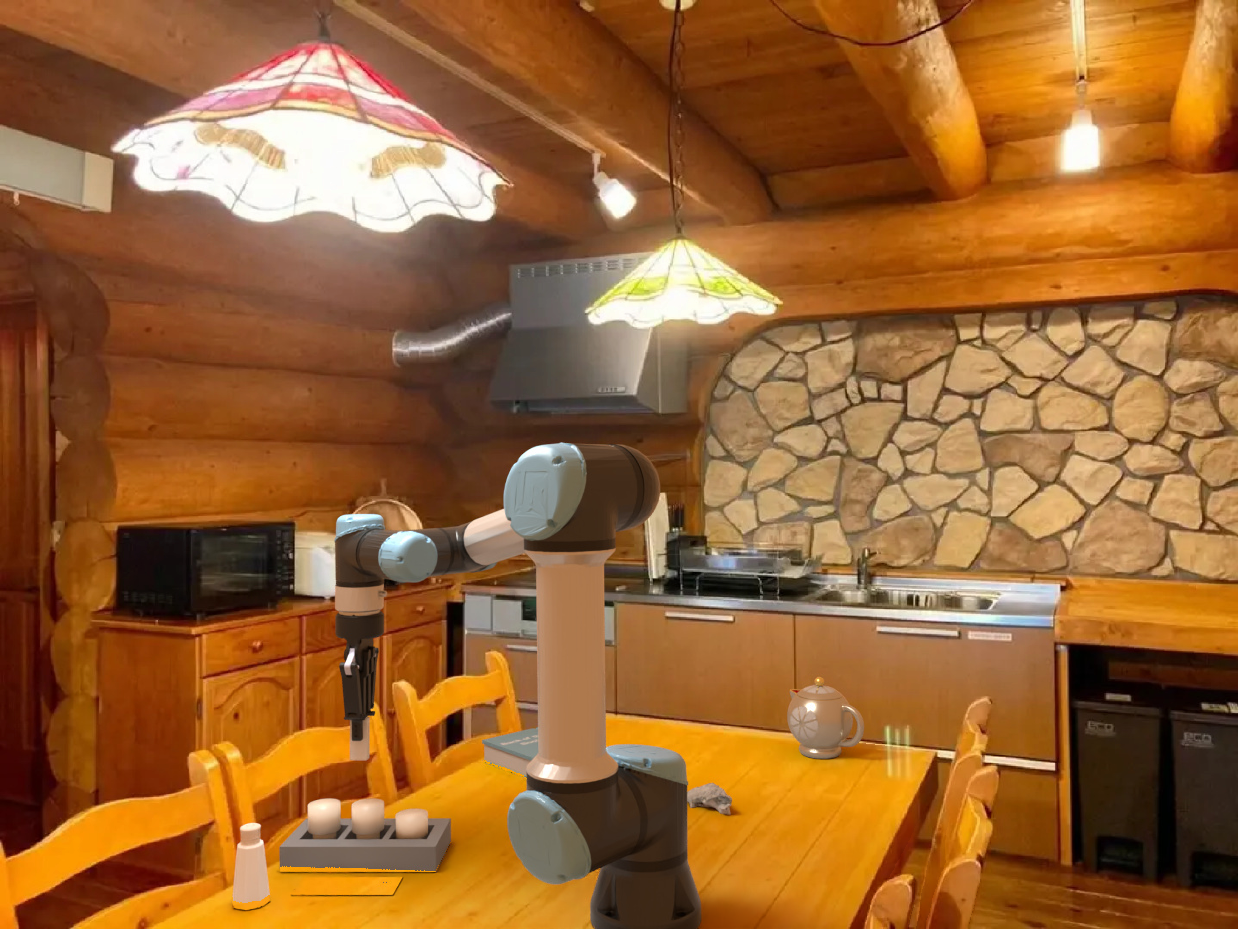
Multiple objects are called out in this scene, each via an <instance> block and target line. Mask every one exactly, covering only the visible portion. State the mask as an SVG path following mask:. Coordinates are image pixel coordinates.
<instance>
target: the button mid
mask: <svg viewBox="0 0 1238 929" xmlns="http://www.w3.org/2000/svg"><path fill="white" fill-rule="evenodd" d="M384 818H385V801H384V800H383V799H380V798H373V797H372V798H364V799H359V800H356V801H354V802H352V804H351V819H352V832H353V833H355V834H356V836H357V839H380V831H382V830H383V829H384Z"/></svg>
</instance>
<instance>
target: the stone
mask: <svg viewBox="0 0 1238 929" xmlns="http://www.w3.org/2000/svg"><path fill="white" fill-rule="evenodd" d="M687 803H688V804H689V807H690V809H692V808H697V807H702V808H712V809H715V810H717V812H719V814H722V815H729V816H731V810H730V809H731V808H730V807H731V806H732V803H733V799H732V797H731V795H728V794H727V792H726V791H725V789H724V788H723V787H720V785H717V784H715V783H714V782H710V783H709V782H708V783H707V784H703V785H700V786H696V787H693V788H691V789H690V790H687Z"/></svg>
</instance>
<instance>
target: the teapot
mask: <svg viewBox="0 0 1238 929" xmlns="http://www.w3.org/2000/svg"><path fill="white" fill-rule="evenodd" d="M789 694H790V698H791V700H790V702H789V705H788V709H787V714H786V715H787V717H786V718H787V724H788V728H789V730H790V732H791V734H792V736H793V738H794V739H795V740H796V741H797V742H798V743H800V744H799V745H798V746H799V747H798V750H799V752H800V754H801V755H803V756H804V757H807V758H811V759H818V760H828V759H834V758H837V757H839V756H840V755H841V753H842V748H853V747H854V746H856V745H858V744H859V743H860V742H861V740H862V738H863V736H864V731H865V723H864V718H863V716H862V714H861V712H860V711H859V710H858V709H857V708H855V707H854V706H853V705H851V704H850V703H849V701H848V700H847V698H846V697H845V696H844V695H843V694H842V693H841V692H840V691H838V690H837V689H836V688H834V687H832V686H828V685H825V679H824V678H823V677H821V676H817V677H816V678H815V679H814V684H812V685H808V686H806V687H803V688H802V689H796V688H792V689H791V688H790V689H789ZM853 718H854V719H855V721H856V732H855V735H854V736H853V737H852V738H850V739H847V738H848V737H849V735H850V733H851V732H852V728H853V722H854V721H853V720H854V719H853Z"/></svg>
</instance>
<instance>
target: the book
mask: <svg viewBox="0 0 1238 929" xmlns="http://www.w3.org/2000/svg"><path fill="white" fill-rule="evenodd" d="M481 744H482V745H483V747H484V748H483V749H484V750H483V752H484V758H483V760H486V761H487V762H490V764H492V763H493V764H495V765H498V767H499V766H501V767H505V768H507V769H510V770H512V771H514V772H516V773H520V774H522V775H524V777H526V778H527V775H526V768H527V765H528V764H529V763H530V762H531V761H532V760H533V758H534V757H535V756H536V755H537V754H538V726H537V727H535V728H534V727H533V728H528V729H523V730H519V731H515V732H511V733H507V734H502V735H498V736H494V737H489V738H486V739H481ZM490 764H489V765H490ZM524 777H523V778H524ZM526 778H525V779H526Z"/></svg>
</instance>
